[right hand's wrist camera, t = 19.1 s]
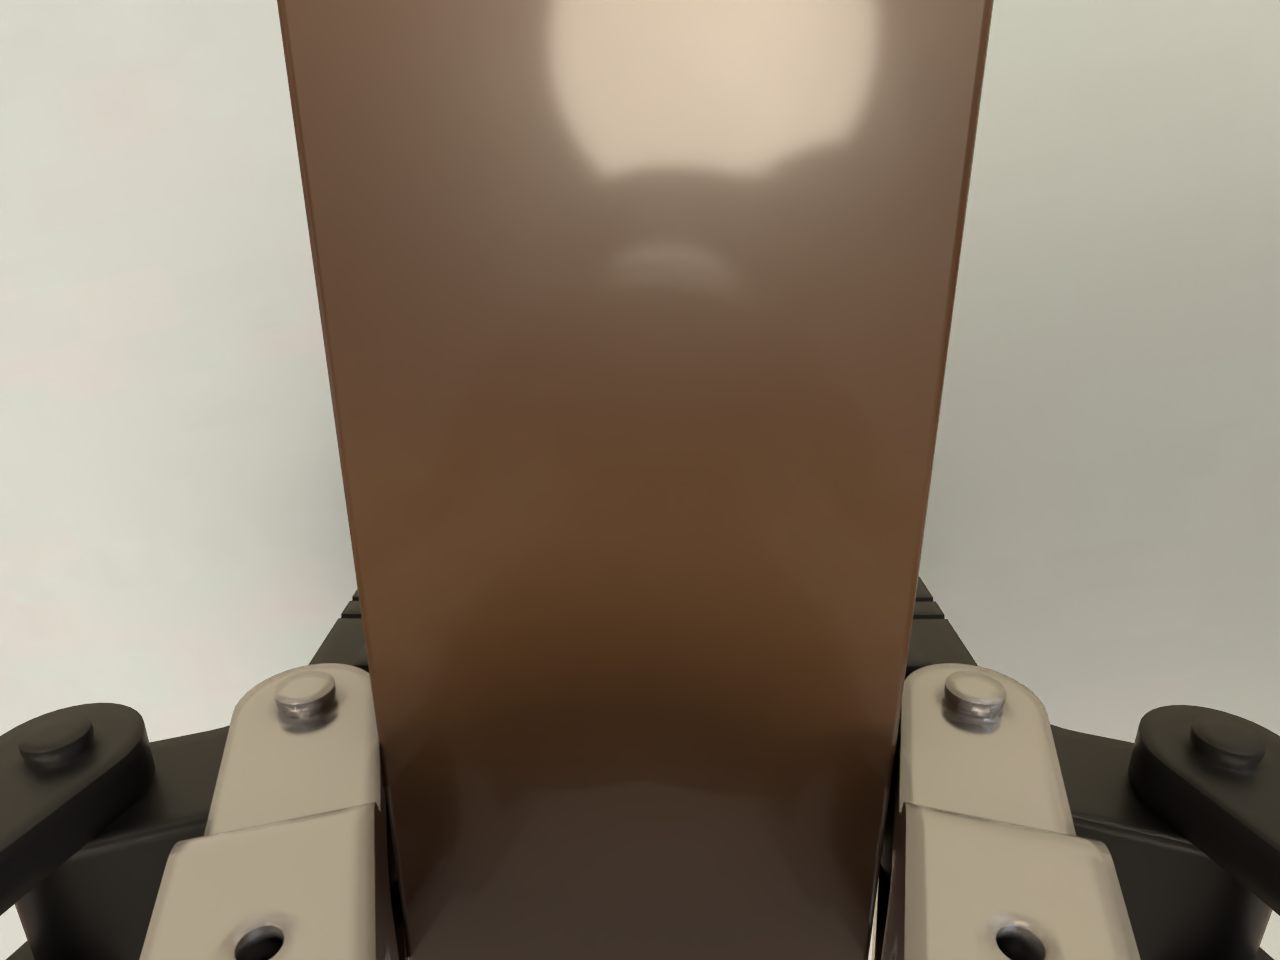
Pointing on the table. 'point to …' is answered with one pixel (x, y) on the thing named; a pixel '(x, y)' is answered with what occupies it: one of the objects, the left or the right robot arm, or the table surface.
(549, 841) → the beam
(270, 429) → the table surface
